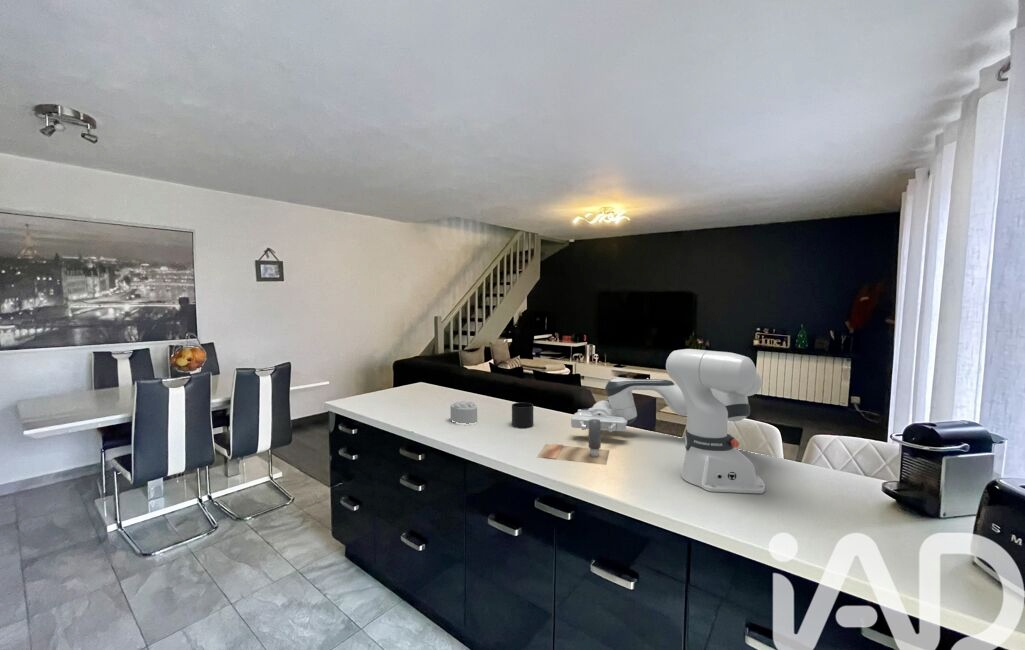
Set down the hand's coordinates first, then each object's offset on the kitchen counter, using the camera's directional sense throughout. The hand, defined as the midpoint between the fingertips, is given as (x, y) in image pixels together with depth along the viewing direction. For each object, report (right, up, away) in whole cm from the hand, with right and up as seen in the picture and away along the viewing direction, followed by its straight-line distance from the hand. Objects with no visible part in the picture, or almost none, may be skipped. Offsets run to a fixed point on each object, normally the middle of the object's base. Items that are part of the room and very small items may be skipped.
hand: (596, 428), depth 153 cm
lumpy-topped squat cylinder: (-52, -7, +39) cm, 65 cm away
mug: (-25, -7, +34) cm, 43 cm away
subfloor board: (-9, -8, -7) cm, 14 cm away
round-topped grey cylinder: (-2, -7, -9) cm, 11 cm away
